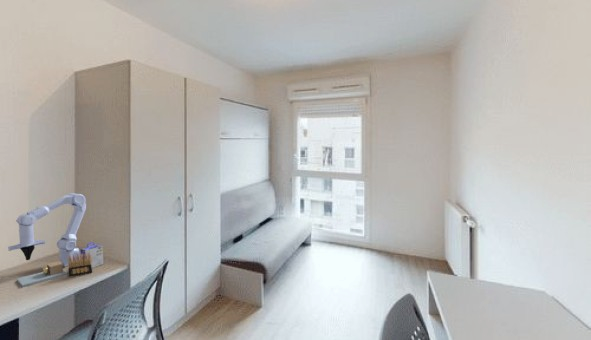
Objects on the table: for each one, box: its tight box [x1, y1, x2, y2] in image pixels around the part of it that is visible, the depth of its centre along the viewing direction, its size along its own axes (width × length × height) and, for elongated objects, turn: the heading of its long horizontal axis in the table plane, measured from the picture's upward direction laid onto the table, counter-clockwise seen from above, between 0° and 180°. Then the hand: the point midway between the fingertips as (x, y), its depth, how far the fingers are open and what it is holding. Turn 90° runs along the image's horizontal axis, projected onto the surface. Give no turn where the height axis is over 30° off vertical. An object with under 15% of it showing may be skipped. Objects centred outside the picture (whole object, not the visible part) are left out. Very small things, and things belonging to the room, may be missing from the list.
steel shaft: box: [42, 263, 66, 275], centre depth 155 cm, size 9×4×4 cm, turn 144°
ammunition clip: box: [67, 253, 93, 278], centre depth 156 cm, size 11×2×12 cm, turn 121°
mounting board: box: [17, 260, 68, 288], centre depth 151 cm, size 18×12×6 cm, turn 144°
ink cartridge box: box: [80, 242, 104, 269], centre depth 166 cm, size 10×6×14 cm, turn 155°
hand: (28, 259), depth 152 cm, fingers closed
